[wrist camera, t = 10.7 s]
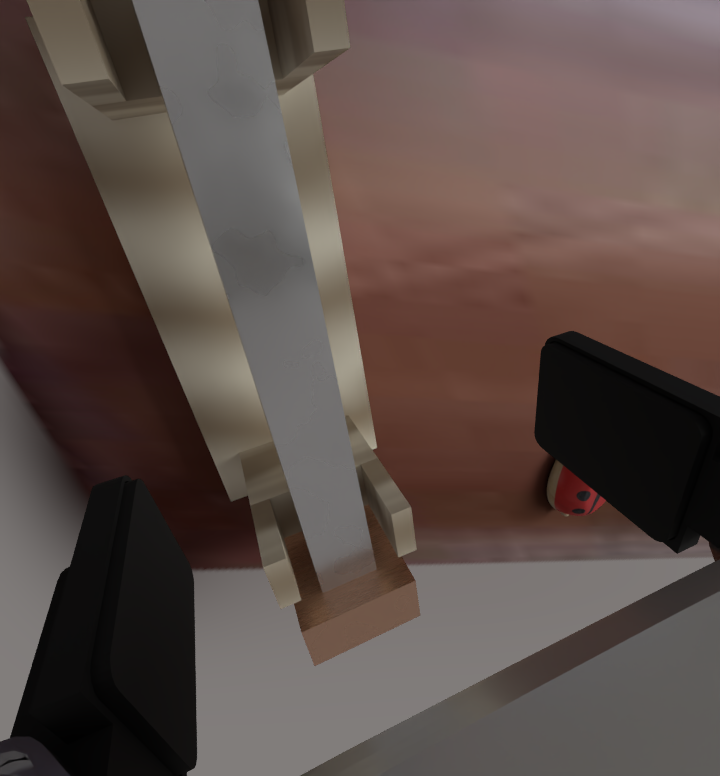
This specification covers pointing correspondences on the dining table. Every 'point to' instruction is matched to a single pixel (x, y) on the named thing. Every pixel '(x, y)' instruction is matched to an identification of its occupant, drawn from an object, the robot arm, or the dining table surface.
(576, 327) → the dining table surface
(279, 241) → the steel bar
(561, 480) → the ladybug figurine
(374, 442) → the hanger stand
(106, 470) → the dining table surface
